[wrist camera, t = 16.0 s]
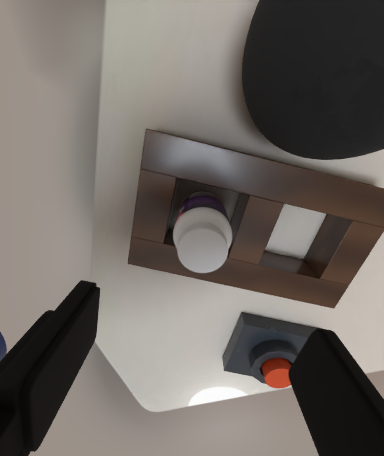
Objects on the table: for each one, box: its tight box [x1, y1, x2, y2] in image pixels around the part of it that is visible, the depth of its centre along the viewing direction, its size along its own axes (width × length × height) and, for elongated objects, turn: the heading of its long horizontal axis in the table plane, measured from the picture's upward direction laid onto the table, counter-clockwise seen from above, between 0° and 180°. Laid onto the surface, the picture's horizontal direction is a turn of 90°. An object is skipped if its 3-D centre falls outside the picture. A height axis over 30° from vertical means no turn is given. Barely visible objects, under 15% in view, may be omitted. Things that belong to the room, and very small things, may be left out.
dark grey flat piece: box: [223, 313, 317, 384], centre depth 31 cm, size 12×10×4 cm
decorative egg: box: [242, 0, 384, 160], centre depth 13 cm, size 12×12×15 cm
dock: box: [128, 129, 384, 308], centre depth 23 cm, size 14×25×4 cm, turn 77°
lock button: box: [262, 357, 291, 388], centre depth 29 cm, size 4×4×2 cm
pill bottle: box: [173, 191, 232, 273], centre depth 21 cm, size 5×5×10 cm
